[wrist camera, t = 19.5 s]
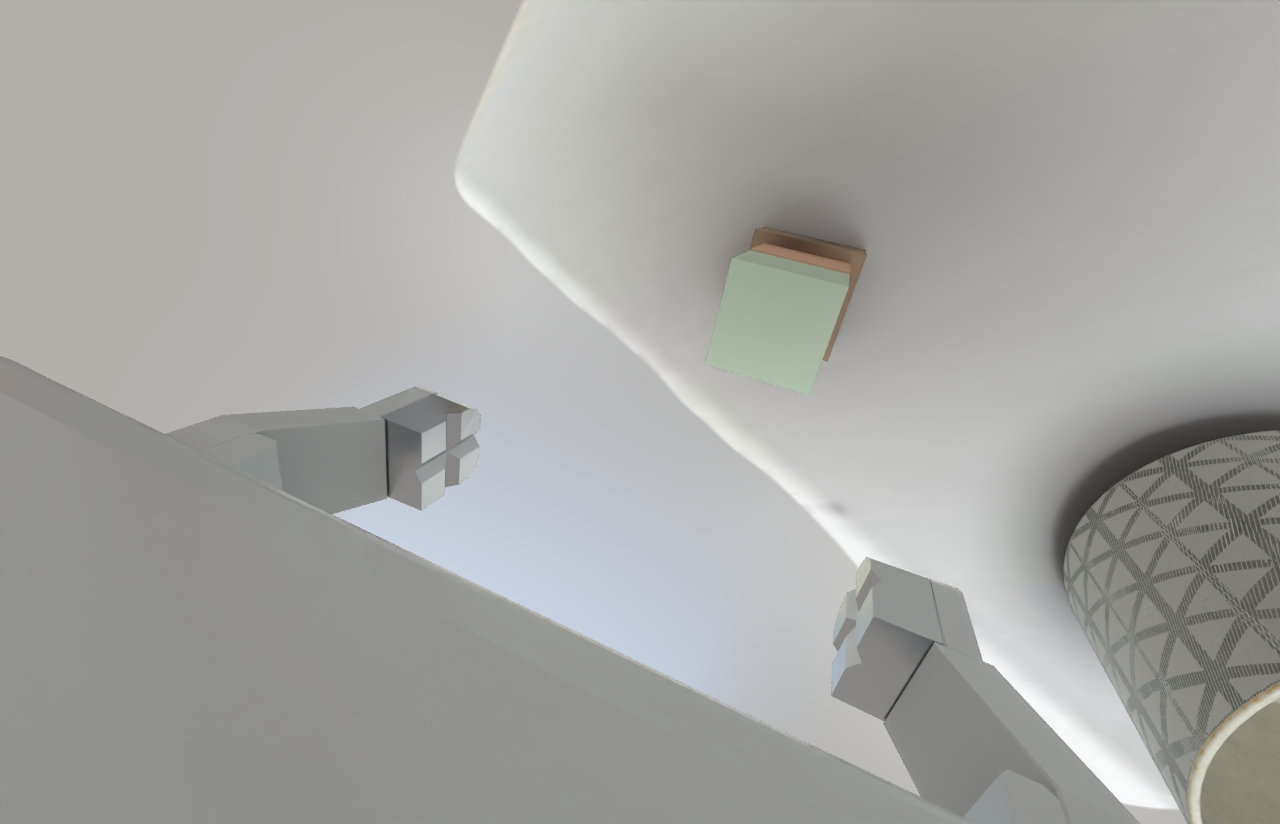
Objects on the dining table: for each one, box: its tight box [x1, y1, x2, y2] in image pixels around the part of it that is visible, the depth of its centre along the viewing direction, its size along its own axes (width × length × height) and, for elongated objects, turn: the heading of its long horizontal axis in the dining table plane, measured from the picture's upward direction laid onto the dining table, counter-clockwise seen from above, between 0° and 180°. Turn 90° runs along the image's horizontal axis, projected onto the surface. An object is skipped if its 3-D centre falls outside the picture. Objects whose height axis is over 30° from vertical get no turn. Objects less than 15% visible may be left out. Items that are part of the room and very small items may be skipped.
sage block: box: [705, 250, 850, 396], centre depth 27 cm, size 6×6×5 cm
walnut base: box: [750, 227, 866, 361], centre depth 35 cm, size 7×7×4 cm
